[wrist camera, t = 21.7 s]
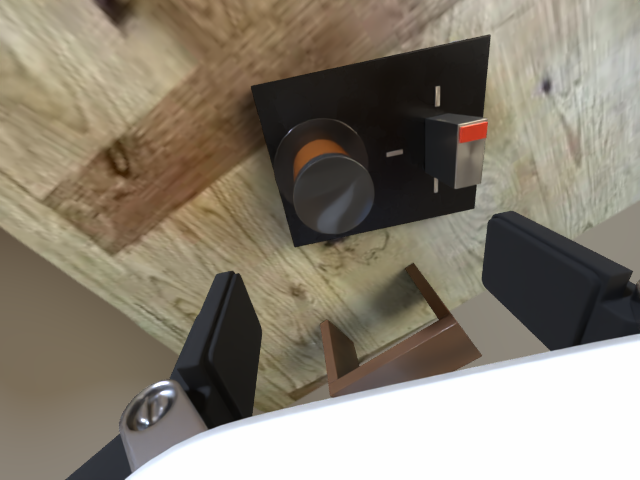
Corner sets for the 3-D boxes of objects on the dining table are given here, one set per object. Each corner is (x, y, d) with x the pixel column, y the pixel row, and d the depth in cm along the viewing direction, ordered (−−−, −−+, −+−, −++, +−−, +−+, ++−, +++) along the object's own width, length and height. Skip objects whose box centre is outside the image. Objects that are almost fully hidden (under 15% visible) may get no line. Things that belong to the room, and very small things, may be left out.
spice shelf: (435, 292, 35) (482, 356, 26) (346, 347, 38) (363, 419, 29) (413, 262, 32) (457, 322, 24) (319, 323, 35) (329, 396, 27)
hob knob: (446, 167, 24) (483, 184, 20) (424, 172, 24) (456, 190, 20) (448, 113, 22) (490, 118, 18) (424, 118, 22) (460, 124, 18)
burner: (371, 202, 25) (372, 203, 25) (287, 220, 25) (287, 222, 25) (362, 107, 21) (363, 107, 21) (262, 129, 21) (261, 129, 21)
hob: (463, 199, 29) (479, 208, 27) (294, 236, 29) (294, 248, 27) (475, 38, 22) (497, 32, 20) (254, 86, 22) (250, 86, 20)
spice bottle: (354, 191, 24) (378, 225, 18) (299, 203, 24) (303, 241, 18) (346, 131, 22) (370, 147, 15) (285, 145, 22) (284, 166, 15)
